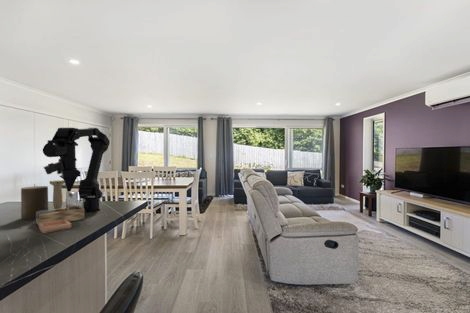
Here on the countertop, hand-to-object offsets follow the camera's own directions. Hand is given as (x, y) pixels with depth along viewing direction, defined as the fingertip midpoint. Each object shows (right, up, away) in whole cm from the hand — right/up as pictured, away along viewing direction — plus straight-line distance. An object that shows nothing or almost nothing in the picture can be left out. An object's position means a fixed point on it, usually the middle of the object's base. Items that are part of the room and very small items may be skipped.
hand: (68, 191), depth 111 cm
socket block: (-2, -12, -2) cm, 13 cm away
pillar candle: (-18, -12, +4) cm, 22 cm away
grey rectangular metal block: (-6, -10, -6) cm, 13 cm away
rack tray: (+3, -13, -13) cm, 18 cm away
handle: (-16, -12, +16) cm, 26 cm away
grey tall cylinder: (+1, -10, +1) cm, 10 cm away
